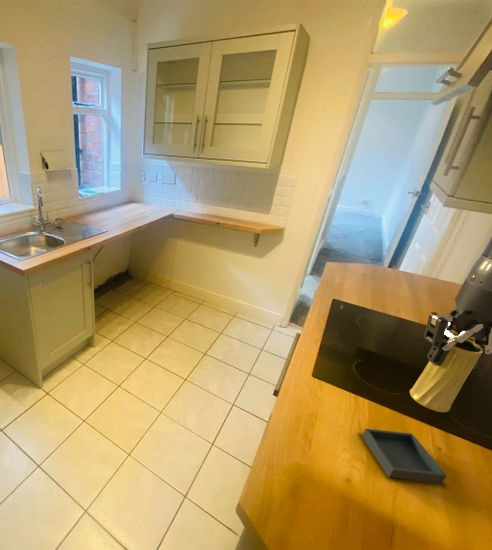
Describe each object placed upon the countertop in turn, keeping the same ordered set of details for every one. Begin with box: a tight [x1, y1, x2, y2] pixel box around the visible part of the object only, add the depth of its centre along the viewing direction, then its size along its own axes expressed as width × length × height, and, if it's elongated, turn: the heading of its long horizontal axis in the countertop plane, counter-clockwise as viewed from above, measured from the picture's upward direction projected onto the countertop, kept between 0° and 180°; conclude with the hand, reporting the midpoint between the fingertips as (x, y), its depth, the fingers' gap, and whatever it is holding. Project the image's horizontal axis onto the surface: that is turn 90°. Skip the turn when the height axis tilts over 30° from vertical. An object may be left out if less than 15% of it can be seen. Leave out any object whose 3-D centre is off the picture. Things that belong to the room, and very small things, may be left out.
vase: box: [409, 337, 483, 413], centre depth 58 cm, size 6×6×14 cm
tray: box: [361, 428, 448, 484], centre depth 67 cm, size 10×10×3 cm
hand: (450, 363), depth 57 cm, fingers closed on vase, 5 cm apart
